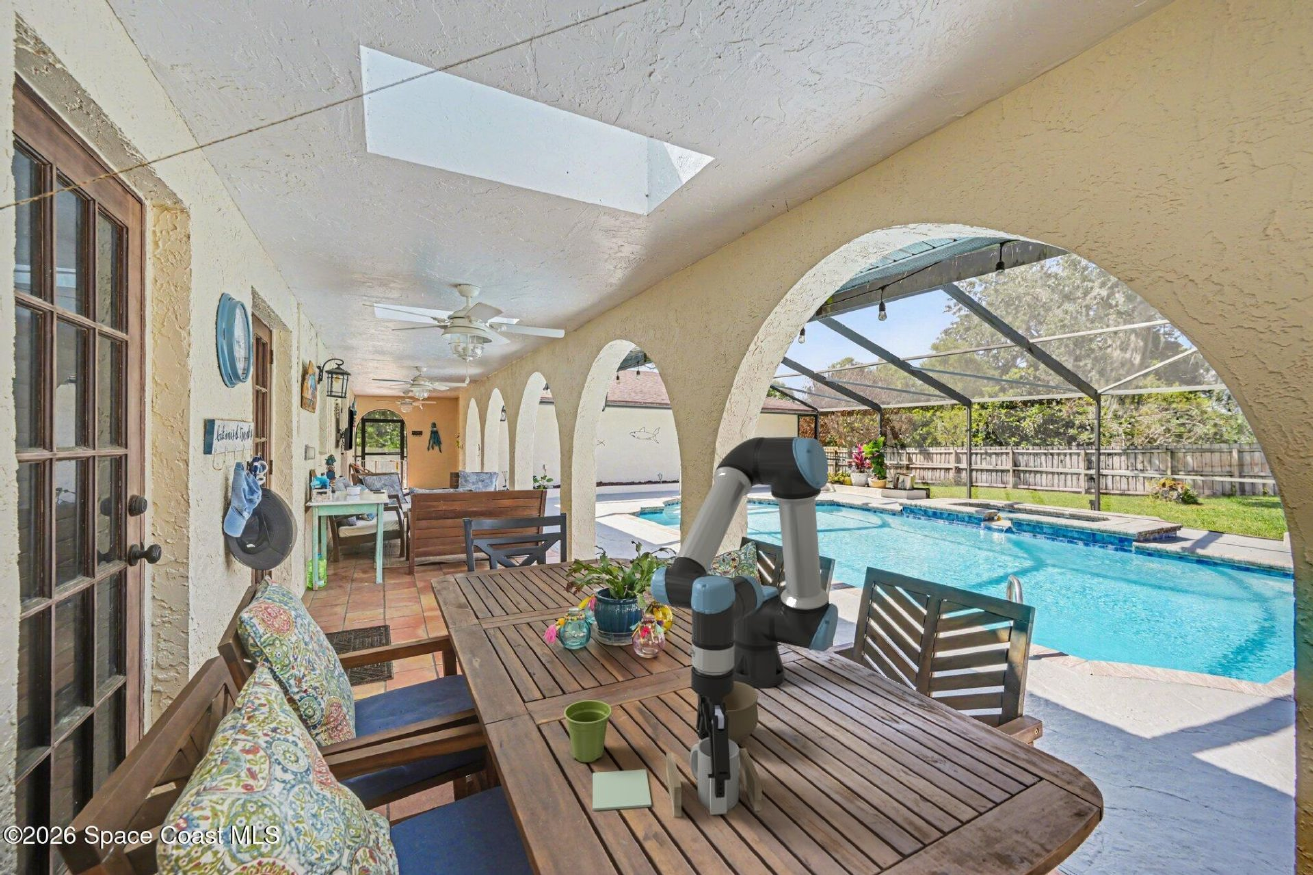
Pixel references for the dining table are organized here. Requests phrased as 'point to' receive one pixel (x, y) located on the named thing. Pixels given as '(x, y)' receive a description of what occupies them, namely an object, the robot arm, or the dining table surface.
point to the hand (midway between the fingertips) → (711, 793)
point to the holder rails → (745, 772)
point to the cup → (702, 768)
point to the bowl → (741, 711)
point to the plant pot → (587, 728)
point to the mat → (620, 790)
